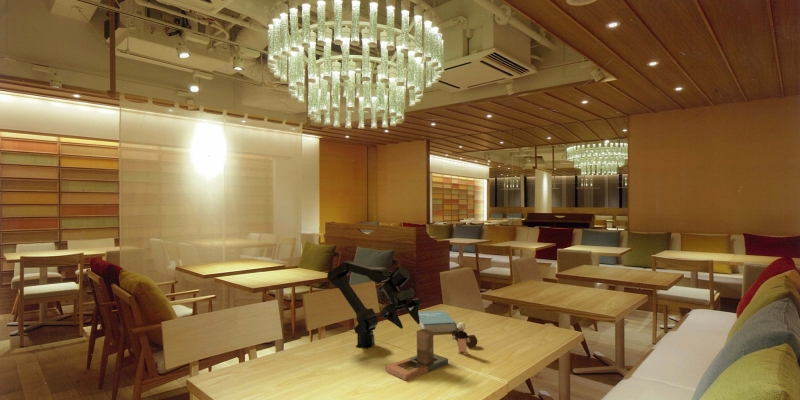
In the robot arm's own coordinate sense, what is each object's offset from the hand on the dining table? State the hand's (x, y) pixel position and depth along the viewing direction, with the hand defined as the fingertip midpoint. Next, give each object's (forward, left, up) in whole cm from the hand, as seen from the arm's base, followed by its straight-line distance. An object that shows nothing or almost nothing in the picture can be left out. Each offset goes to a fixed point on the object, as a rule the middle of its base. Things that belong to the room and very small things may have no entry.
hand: (410, 325), depth 164 cm
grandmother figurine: (+18, +13, -13) cm, 26 cm away
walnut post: (+7, -4, -13) cm, 16 cm away
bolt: (+15, +26, -14) cm, 34 cm away
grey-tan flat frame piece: (+5, -8, -13) cm, 16 cm away
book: (-3, +47, -14) cm, 49 cm away
